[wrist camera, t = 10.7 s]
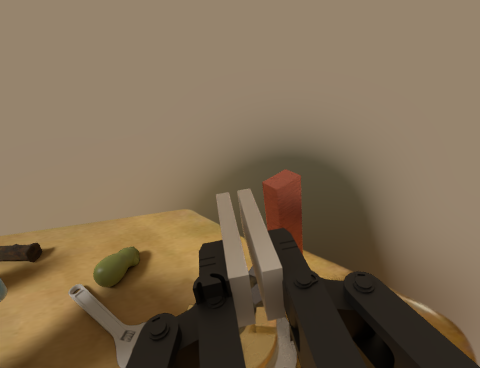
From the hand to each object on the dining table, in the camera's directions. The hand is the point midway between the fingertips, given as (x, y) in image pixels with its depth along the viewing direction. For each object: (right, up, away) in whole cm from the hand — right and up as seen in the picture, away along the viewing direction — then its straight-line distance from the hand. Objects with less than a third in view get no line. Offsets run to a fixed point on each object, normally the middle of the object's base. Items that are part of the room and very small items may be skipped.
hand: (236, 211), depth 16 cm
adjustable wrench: (-23, -23, +32) cm, 45 cm away
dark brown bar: (-58, -17, +50) cm, 78 cm away
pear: (-25, -17, +41) cm, 51 cm away
